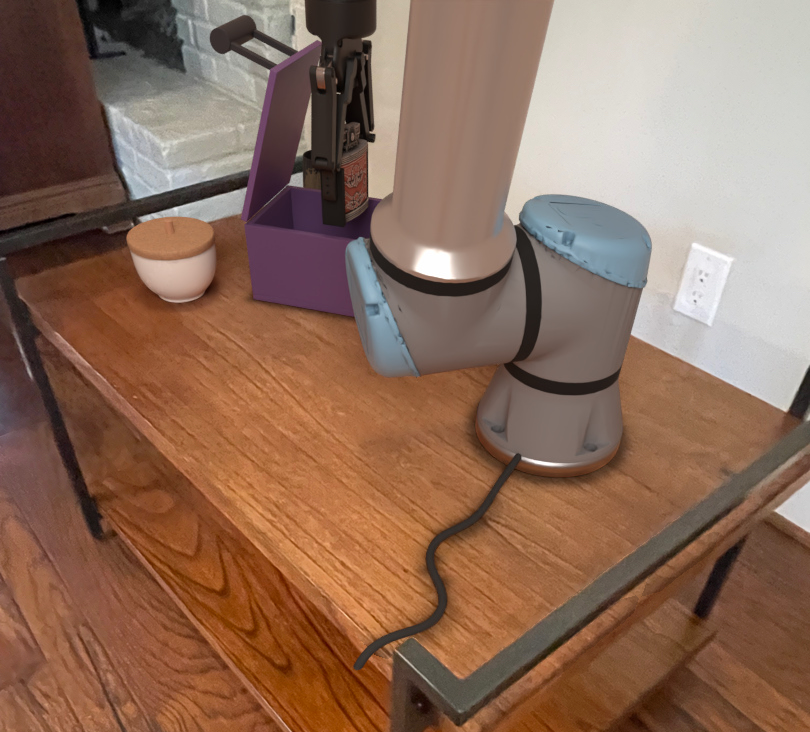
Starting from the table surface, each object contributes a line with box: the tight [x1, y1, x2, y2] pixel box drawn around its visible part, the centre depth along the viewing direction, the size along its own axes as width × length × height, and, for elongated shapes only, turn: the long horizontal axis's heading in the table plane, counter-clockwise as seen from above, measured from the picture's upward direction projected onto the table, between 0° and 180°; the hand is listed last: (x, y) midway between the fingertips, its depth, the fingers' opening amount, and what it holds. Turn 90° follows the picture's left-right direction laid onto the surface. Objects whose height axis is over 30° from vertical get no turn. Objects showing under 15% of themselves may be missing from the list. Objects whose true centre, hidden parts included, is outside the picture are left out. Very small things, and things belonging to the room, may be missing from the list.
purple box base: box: [243, 184, 383, 318], centre depth 98 cm, size 17×14×10 cm
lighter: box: [341, 122, 369, 222], centre depth 90 cm, size 8×3×10 cm, turn 152°
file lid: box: [209, 14, 322, 223], centre depth 89 cm, size 17×14×9 cm
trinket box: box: [126, 216, 218, 304], centre depth 96 cm, size 11×11×9 cm
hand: (346, 210), depth 94 cm, fingers closed on lighter, 8 cm apart
